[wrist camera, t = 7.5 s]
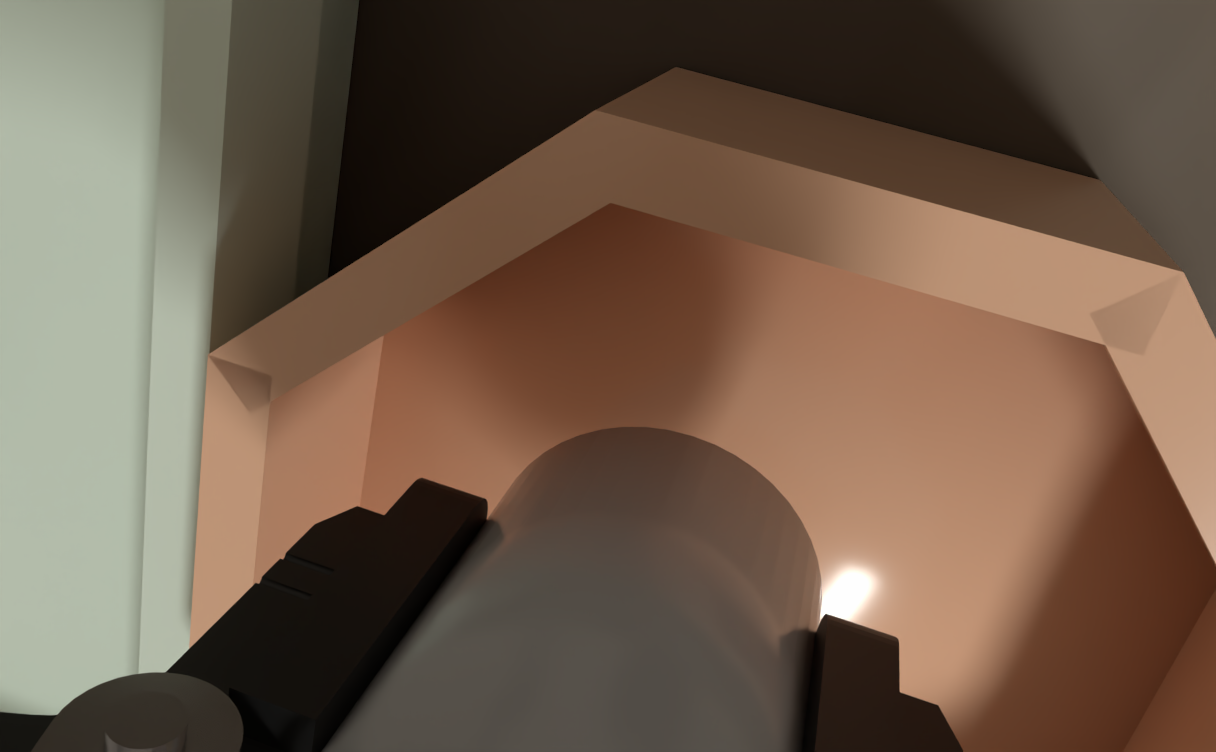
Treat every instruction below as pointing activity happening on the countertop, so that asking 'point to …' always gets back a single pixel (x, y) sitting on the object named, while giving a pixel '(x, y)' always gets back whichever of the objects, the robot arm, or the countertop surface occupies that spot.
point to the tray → (140, 295)
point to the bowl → (790, 390)
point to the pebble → (611, 614)
